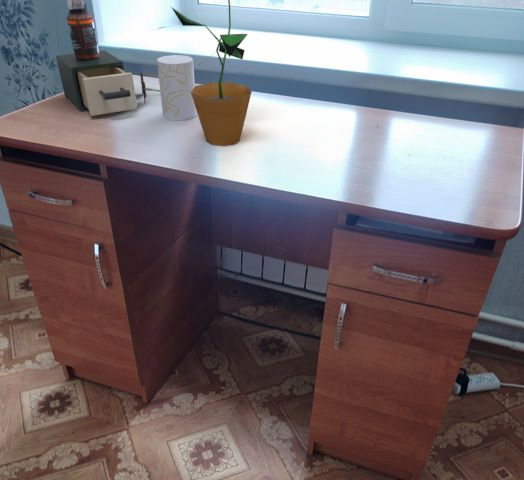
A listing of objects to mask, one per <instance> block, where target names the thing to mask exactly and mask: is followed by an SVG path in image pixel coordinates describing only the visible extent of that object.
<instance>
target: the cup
mask: <svg viewBox="0 0 524 480" xmlns="http://www.w3.org/2000/svg"><path fill="white" fill-rule="evenodd" d="M156 65H157V75H158V76H159V77H158V82H159V90H160V92H159V93H160V100H161V109H162V117H163V118H165V119H167V120H169V121H189V120H192V119H194V118H196V117H197V116H198V113H197V110H196V107H195V104H194V101H193V98H192V95H191V91H192V90H193V88H194V87H195V86H196V85H195V71H194V70H195V69H194V58H193V57H192V56H188V55H180V54H170V55H169V54H168V55H163V56H159V57H158V58H156Z"/></svg>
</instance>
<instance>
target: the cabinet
mask: <svg viewBox="0 0 524 480" xmlns="http://www.w3.org/2000/svg"><path fill="white" fill-rule="evenodd" d="M55 60H56V63H57V68H58V72H59V76H60V81H61V85H62V89H63V93H64V97H65V99H67V100H68V101H69V103H71V104H72V105H73V106H74V107H75V108H76V109H77V110H78V111H79V112H85V111H89V109H88V108H87V107H86V106H84V105H83V104H82V102H81V98H80V93H79V88H78V84H77V79H76V74H75V71H80V70H89V69H97V68H105V67H113V66H117V67H118V68H120V69H121V70H123V71H124V72H125V67H124V62H123V60H121V59H119V58H118V57H116V56H115V55H113V54H111V53H110V52H108V51H107V50H99V57H98V58H96V59H91V60H80V59H77V58H76V57H75V54H74V53H68V54H67V53H66V54H58V55H55Z"/></svg>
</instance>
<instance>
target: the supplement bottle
mask: <svg viewBox="0 0 524 480" xmlns="http://www.w3.org/2000/svg"><path fill="white" fill-rule="evenodd" d="M83 2H84V9H68V10H69V11H68V14H67V15H66V21H67V25H68V31H69V35H70V41H71V43H72V44H71V45H72V49H73V54H75V57H76V58H77V59H80V60H91V59H96V58H98V57H99V51H100V50H99V45H98V39H97V33H96V28H95V22H94V18H93V15H92V14H91V13H90V12H89V11H88V7H87V3H86V2H85V1H83Z"/></svg>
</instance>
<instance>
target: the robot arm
mask: <svg viewBox="0 0 524 480" xmlns="http://www.w3.org/2000/svg"><path fill="white" fill-rule="evenodd" d="M84 2H85V1H84V0H66V5H67V9H68V10H69V9H84Z"/></svg>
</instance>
